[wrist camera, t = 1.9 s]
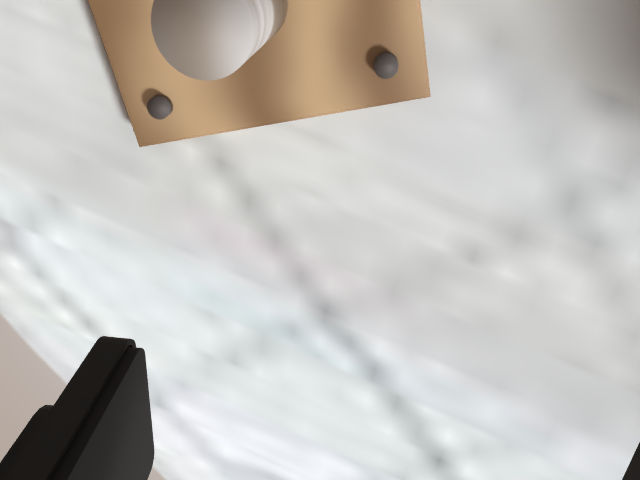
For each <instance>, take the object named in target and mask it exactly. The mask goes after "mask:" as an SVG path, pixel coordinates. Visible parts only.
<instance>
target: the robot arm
mask: <svg viewBox="0 0 640 480" xmlns="http://www.w3.org/2000/svg"><path fill="white" fill-rule="evenodd" d="M153 460H154V442H153V432H152V421H151V411H150V400H149V390H148V379H147V369H146V358H145V351H144V349H143V348H136V344H135V341H134V340H132V339H126V338H116V337H106V336H102V337H100V338H99V339H98V340H97V341H96V343H95V344H94V346H93V347H92V349H91V350H90V352H89V353H88V355H87V356H86V358H85V359H84V361H83V362H82V364H81V365H80V367H79V368H78V370H77V371H76V373H75V374H74V376H73V377H72V379H71V380H70V382H69V383H68V385H67V386H66V388H65V389H64V391H63V392H62V394H61V395H60V397H59V398H58V400H57V401H56V403H55V404H54V406H52V405H45V406H43V407H41V408H40V409H39V410H38V411H37V412H36V413H35V414H34V415H33V417H32V418H31V420H30V421H29V422H28V424H27V425H26V427H25V428H24V430H23V431H22V432H21V434H20V435H19V437H18V438H17V440H16V441H15V443H14V444H13V445H12V447H11V448H10V450H9V451H8V453H7V454H6V455H5V457H4V458H3V460H2V461H1V463H0V480H147V479H148V477H149V474H150V471H151V469H152V465H153ZM622 480H640V443H639V445H638V447H637V449H636V451H635V453H634V455H633V458H632V460H631V462H630V464H629V466H628V468H627V470H626V473H625V475H624V477H623V479H622Z"/></svg>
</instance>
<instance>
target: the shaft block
mask: <svg viewBox="0 0 640 480" xmlns="http://www.w3.org/2000/svg"><path fill="white" fill-rule="evenodd" d="M88 1H89V4H90V7H91V10H92V13H93V16H94V18H95V21H96V24H97V27H98V30H99V33H100V35H101V38H102V41H103V44H104V47H105V50H106V53H107V55H108V58H109V61H110V64H111V67H112V70H113V73H114V75H115V78H116V81H117V84H118V87H119V90H120V93H121V95H122V98H123V101H124V104H125V107H126V110H127V113H128V115H129V118H130V121H131V124H132V127H133V130H134V132H135V135H136V138H137V141H138V144H139V147H142V146H148V145H154V144H160V143H165V142H171V141H177V140H183V139H189V138H194V137H200V136H206V135H212V134H218V133H223V132H229V131H235V130H241V129H246V128H252V127H258V126H264V125H270V124H275V123H281V122H287V121H293V120H299V119H304V118H310V117H316V116H322V115H328V114H333V113H339V112H345V111H351V110H357V109H362V108H368V107H374V106H380V105H386V104H391V103H397V102H403V101H409V100H414V99H420V98H426V97H430V88H429V79H428V70H427V60H426V51H425V42H424V32H423V23H422V14H421V4H420V0H88Z"/></svg>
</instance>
